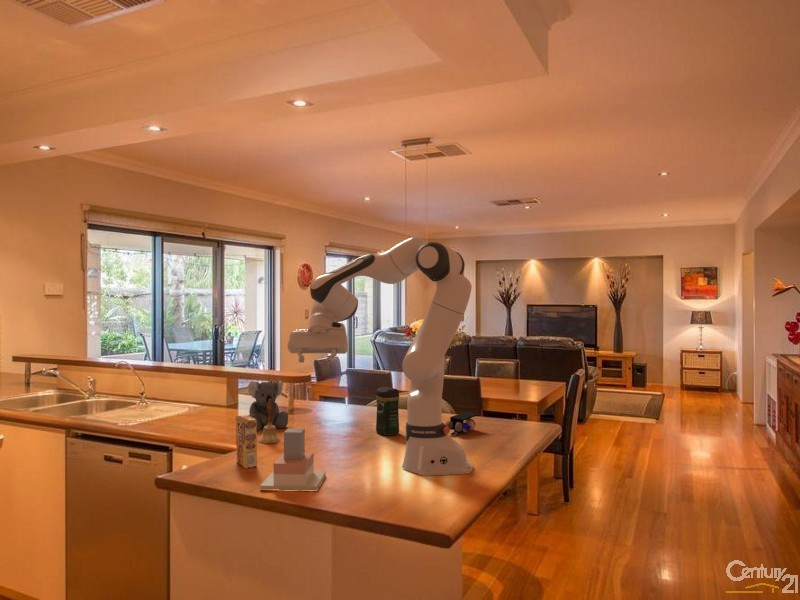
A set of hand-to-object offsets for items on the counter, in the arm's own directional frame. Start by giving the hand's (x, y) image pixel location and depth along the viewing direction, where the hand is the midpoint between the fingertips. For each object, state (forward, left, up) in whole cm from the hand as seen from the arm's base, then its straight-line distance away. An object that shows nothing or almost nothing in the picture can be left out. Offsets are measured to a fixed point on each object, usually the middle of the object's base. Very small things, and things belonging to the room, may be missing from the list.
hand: (315, 361), depth 189 cm
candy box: (+22, +3, -34) cm, 40 cm away
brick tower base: (+2, +21, -33) cm, 40 cm away
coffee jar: (-21, -42, -34) cm, 58 cm away
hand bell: (+23, -28, -34) cm, 49 cm away
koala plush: (+32, -53, -34) cm, 70 cm away
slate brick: (+2, +21, -26) cm, 34 cm away
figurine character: (-51, -45, -34) cm, 76 cm away
